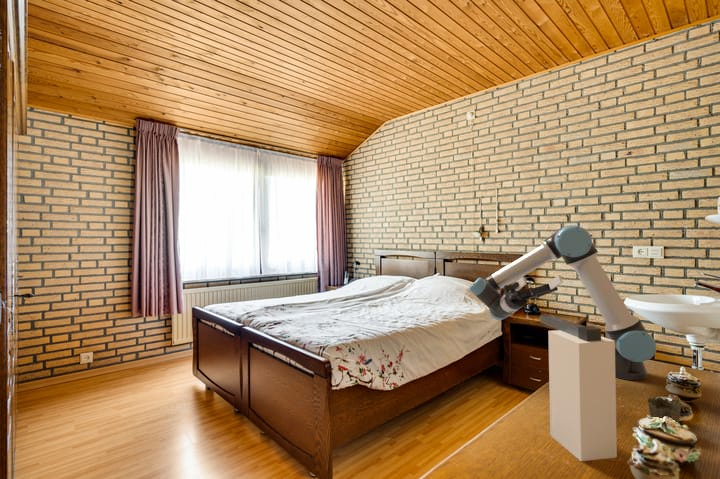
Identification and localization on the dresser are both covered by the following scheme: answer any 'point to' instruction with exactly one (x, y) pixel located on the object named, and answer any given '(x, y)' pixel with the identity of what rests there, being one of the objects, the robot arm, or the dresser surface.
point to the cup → (664, 408)
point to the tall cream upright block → (583, 395)
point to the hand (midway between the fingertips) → (542, 279)
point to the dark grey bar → (572, 328)
